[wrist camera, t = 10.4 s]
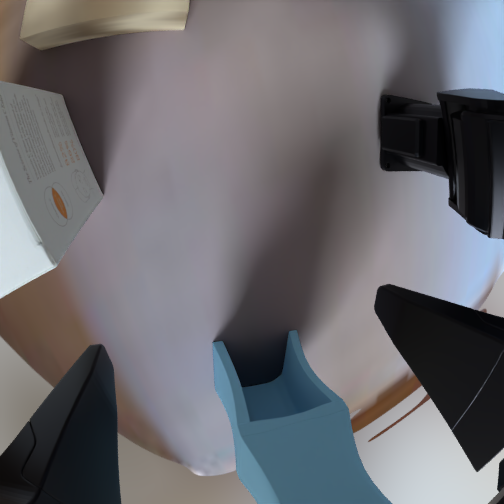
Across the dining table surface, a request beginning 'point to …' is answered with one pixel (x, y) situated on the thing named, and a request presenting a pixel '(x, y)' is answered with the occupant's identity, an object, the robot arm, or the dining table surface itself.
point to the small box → (39, 184)
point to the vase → (293, 435)
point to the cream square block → (97, 19)
